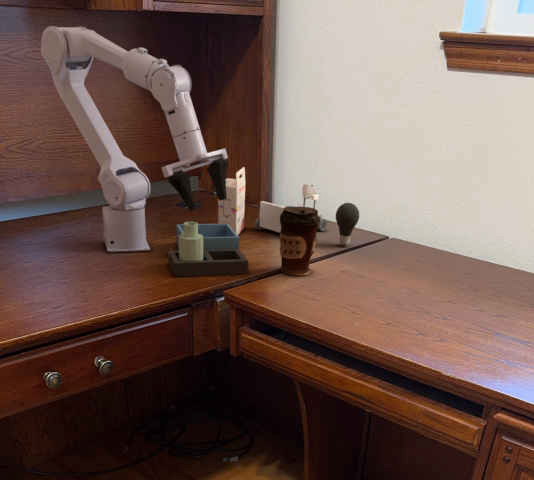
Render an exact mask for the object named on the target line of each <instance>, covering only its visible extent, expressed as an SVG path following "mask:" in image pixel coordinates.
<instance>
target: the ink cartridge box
mask: <svg viewBox="0 0 534 480" xmlns="http://www.w3.org/2000/svg"><path fill="white" fill-rule="evenodd" d="M226 195H227V199H224V200H221V201H219V199H218V198H217V224H229V225H230V227H231V228H232V229H233V230H234V231H235V233H236V234H237V235H238V236H239V235H240V234H241V232H242V231H243V230H244V228H245V209H246V208H245V207H246V206H245V205H246V204H245V203H246V169H245V166H243V167H242V168H240V169H239V170H237V172H236V173H235V178H228V177H226Z"/></svg>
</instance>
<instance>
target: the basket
mask: <svg viewBox="0 0 534 480" xmlns="http://www.w3.org/2000/svg"><path fill="white" fill-rule="evenodd" d="M182 233H184V223H182V224H176V245H177V247H178V248H179V235H180V234H182ZM198 234H201V235H203V250H214V249H239V250H240V236H239V234H238V235H237V234H236V233H235V231H234V230H233V229H232V228H231V227H230V225H229V224H218V223H198Z"/></svg>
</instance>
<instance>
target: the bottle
mask: <svg viewBox="0 0 534 480" xmlns="http://www.w3.org/2000/svg"><path fill="white" fill-rule="evenodd" d="M183 224H184V233H182V234H180V235H179V247H178V251H179V262H180V261H203V235H201V234H198V224H199V223H198V222H195V221H185V222H183Z"/></svg>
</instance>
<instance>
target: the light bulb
mask: <svg viewBox="0 0 534 480" xmlns="http://www.w3.org/2000/svg"><path fill="white" fill-rule="evenodd" d="M359 219H360V211H359V208H358V207H357V205H355V204H354V203H352V202H344V203H342V204H341V205H340V206H338V208H337V210H336V212H335V222H336V224H337V227H338V233H339V240H338V241H339V242H338V243H339V244H340V245H341V247H344V248H345V247H347V245H349V244H350V243H351V236H352V233H353V230H354V229H355V227H356V226H357V224H358V222H359Z"/></svg>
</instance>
